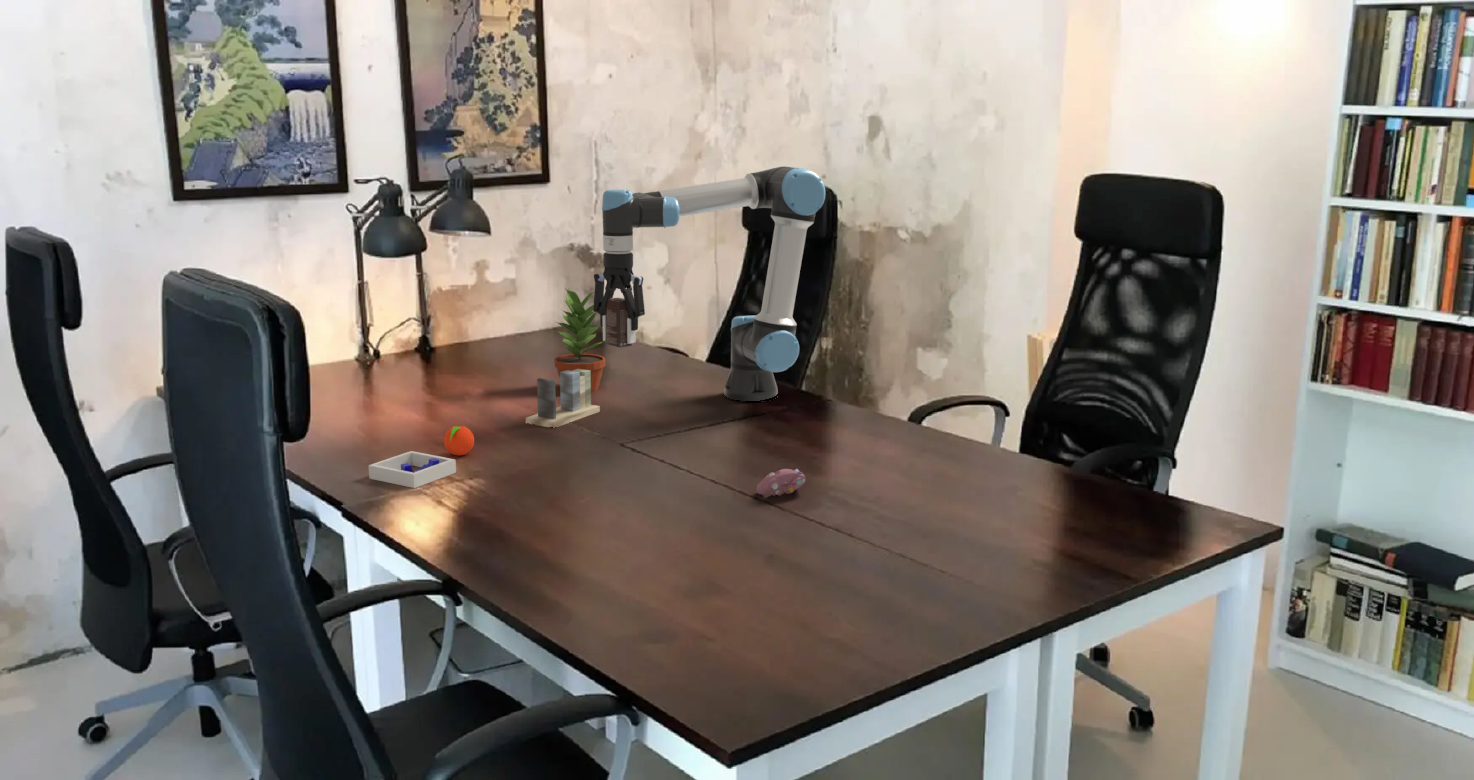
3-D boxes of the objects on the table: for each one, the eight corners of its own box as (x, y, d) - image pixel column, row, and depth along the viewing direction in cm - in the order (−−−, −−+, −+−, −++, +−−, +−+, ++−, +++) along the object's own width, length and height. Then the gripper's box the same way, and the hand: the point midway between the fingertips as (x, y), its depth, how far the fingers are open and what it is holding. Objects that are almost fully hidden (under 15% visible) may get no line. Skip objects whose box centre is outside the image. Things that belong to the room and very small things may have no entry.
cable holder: (432, 473, 265) (432, 456, 264) (440, 477, 262) (439, 460, 261) (398, 480, 260) (397, 462, 259) (405, 484, 257) (404, 466, 256)
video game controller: (762, 505, 251) (770, 480, 247) (753, 490, 254) (761, 466, 250) (802, 498, 256) (811, 474, 252) (793, 484, 259) (801, 460, 255)
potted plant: (617, 387, 348) (616, 284, 341) (583, 397, 335) (582, 290, 328) (577, 380, 355) (576, 280, 349) (543, 390, 343) (541, 286, 336)
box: (633, 346, 307) (632, 299, 304) (618, 348, 304) (617, 301, 301) (619, 342, 311) (619, 296, 309) (605, 344, 309) (604, 298, 306)
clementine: (465, 461, 274) (464, 431, 272) (437, 459, 275) (435, 429, 273) (479, 452, 281) (478, 422, 280) (452, 449, 282) (450, 420, 281)
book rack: (599, 411, 320) (599, 369, 317) (554, 428, 303) (553, 383, 300) (572, 407, 324) (571, 365, 321) (525, 423, 307) (524, 379, 304)
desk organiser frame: (456, 472, 265) (455, 459, 264) (414, 488, 254) (413, 474, 253) (411, 463, 271) (411, 450, 270) (369, 478, 260) (368, 465, 259)
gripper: (577, 250, 304) (579, 339, 309) (642, 256, 294) (643, 347, 300) (594, 247, 310) (596, 335, 315) (659, 252, 301) (659, 342, 306)
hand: (619, 341), depth 308 cm, fingers closed on box, 7 cm apart
